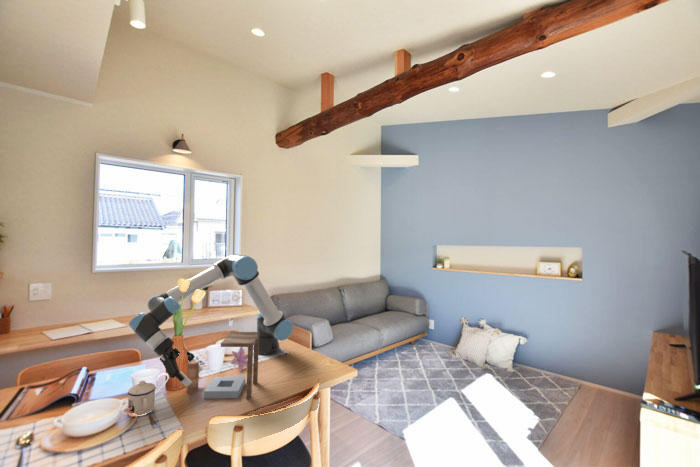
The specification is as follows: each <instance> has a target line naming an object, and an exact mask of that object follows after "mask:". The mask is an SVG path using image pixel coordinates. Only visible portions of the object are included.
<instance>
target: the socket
mask: <svg viewBox="0 0 700 467" xmlns="http://www.w3.org/2000/svg"><path fill="white" fill-rule="evenodd" d="M245 384H246V376H214V377H213V378H212V379H211V381H210V382H209V383H208V385H207V386H206V388H205V389H204V391H203V399H238V398H239V397H240V395H241V393H242V391H243V388H244V386H246V385H245Z"/></svg>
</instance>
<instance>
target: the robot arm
mask: <svg viewBox="0 0 700 467" xmlns="http://www.w3.org/2000/svg"><path fill="white" fill-rule="evenodd" d="M258 269H259V268H258V263H257V261H256V260H255V259H254V258H252V257H251V256H249V255H244V254H243V255H241V254H237V253H233V254H230V255H227V256H225V257H223V258H221V259H219V260H218V261H216V262H214V263H213V264H212V266H211V267H209V268H206V269H205V270H204V271H202V272H200V273H198V274H196V275H195V276H193V277H191V278H189V279H188V280H190V285H189V288H188V289H187V291H186V292H184V293H182V292H181V291H180V290H179V286H178V285H176V286H175V287H173V288H171V289H169V290H167V291H165V292H164V293H161V294H159V295H154V296H152V297H151V298H149V299H148V301H147V308H148V309H149V312H147V313H145V312H144V311H143V312H139V313H138V314H137V315H135V316H134V317H133V318H132V319H130V321H129V322H128V326H129V328H130V329H131V330H132V331H133V332H134V333H135V335H137V336H138V337H139V338H140V339H141V340H142V341H143V342H144V343H145V344H146V345H147V346H148V347H149V348H150V349H151V350H153V352H154V353H155V354H157V356H158V357H159V361H160V362H161V363H162V365H163V366H164V368H165V370H166V372H167V374H168V376H169V378H172V379H174V378H176V379H177V380H178V381H179V382H180V383H181V384H182V385H183V386H185V388H187V387H188V386H189V385H190V384H191V383H192V381H191V380H190V379H189V378H188V375H186V374H185V373H184V372H183V371H181V370H180V369H179V367H178V363H177V359H178V358H177V357H178V356H179V354H178V353H180V352H179V351H178V349H176V348H175V349H173V348H172V345H173V346H174V344H175V342H174V341H173V340H172V339H171V337H168V335H167V333H166V332H164V331H163V329H161V328H160V326H162V325H163V324H164V323H165V322H166V321H168V320H169V319H170V318H172V316H174V315H175V314H176V313H177V312H176V310H178V311H179V310H181V305H180V302H182V301H184V300H186V299H187V298H189V297H191V296H193V295H194V294H195V293H194V291H195V290H196V289H200V291H202V290H203V289H205V288H207V287H208V286H210V285H212V284H213V283H215V282H217V281H219V280H225V279H226V278H228V277H234V279H235V281H236V282H237V284H238V285H239V286H241V287H244V289H245V291H246V293H247V294H248V296H249V297H250V300H252V302H253V303H254V306H255V307H256V309H257V310H258V313H257V316H256V317H257V318H256V319H257V320H256V332H259V353H258V355H263V356H264V355H265V356H266V355H273V354H276V353H278V352H280V349H281V348H280V342H279V341H285V340H287V339H288V338H290V336H291V335H292V334H293V329H294V325H293V323H292V321H290V320H289V319H288V318H286V315H285V314H284V313H283V311H281V310H278V308H277V306H276V305H275V303H274V301H273V300H272V298H271V296H270V294H269V293H268V291H267V290H266V288H265V286H264V285H263V283H262V281H261V280H260V277H259V276H260V272H259V271H258ZM193 293H194V294H193ZM182 295H183V300H182ZM173 301H174V302H173ZM174 303H175V305H174ZM174 312H175V314H174ZM185 350H186V351H187V355H188V360H189V362H188V363H190V362H194V361H196V360H195V358H196V357H195V354H193V353H192V352H190V351H189V350H187V349H185ZM253 350H254V346H253ZM176 358H177V359H176ZM203 370H204V368H203V367H202V366H201V364H199V374H200V373H201V371H203Z"/></svg>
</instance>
